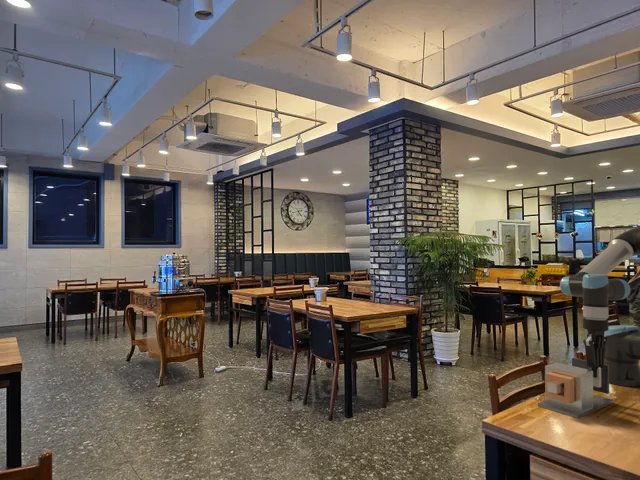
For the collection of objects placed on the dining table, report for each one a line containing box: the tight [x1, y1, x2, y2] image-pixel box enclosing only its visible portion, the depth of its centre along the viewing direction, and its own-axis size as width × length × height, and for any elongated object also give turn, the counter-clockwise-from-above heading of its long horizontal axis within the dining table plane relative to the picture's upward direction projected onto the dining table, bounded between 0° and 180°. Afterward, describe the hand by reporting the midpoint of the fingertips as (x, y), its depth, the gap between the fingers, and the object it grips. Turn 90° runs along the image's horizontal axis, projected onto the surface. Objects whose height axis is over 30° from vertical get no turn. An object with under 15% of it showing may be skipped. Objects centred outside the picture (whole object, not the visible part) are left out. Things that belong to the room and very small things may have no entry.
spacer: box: [546, 372, 575, 404], centre depth 143 cm, size 3×8×8 cm, turn 34°
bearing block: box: [537, 362, 614, 419], centre depth 149 cm, size 26×13×13 cm, turn 124°
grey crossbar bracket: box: [547, 357, 610, 395], centre depth 148 cm, size 27×12×10 cm, turn 124°
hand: (596, 386), depth 148 cm, fingers closed
